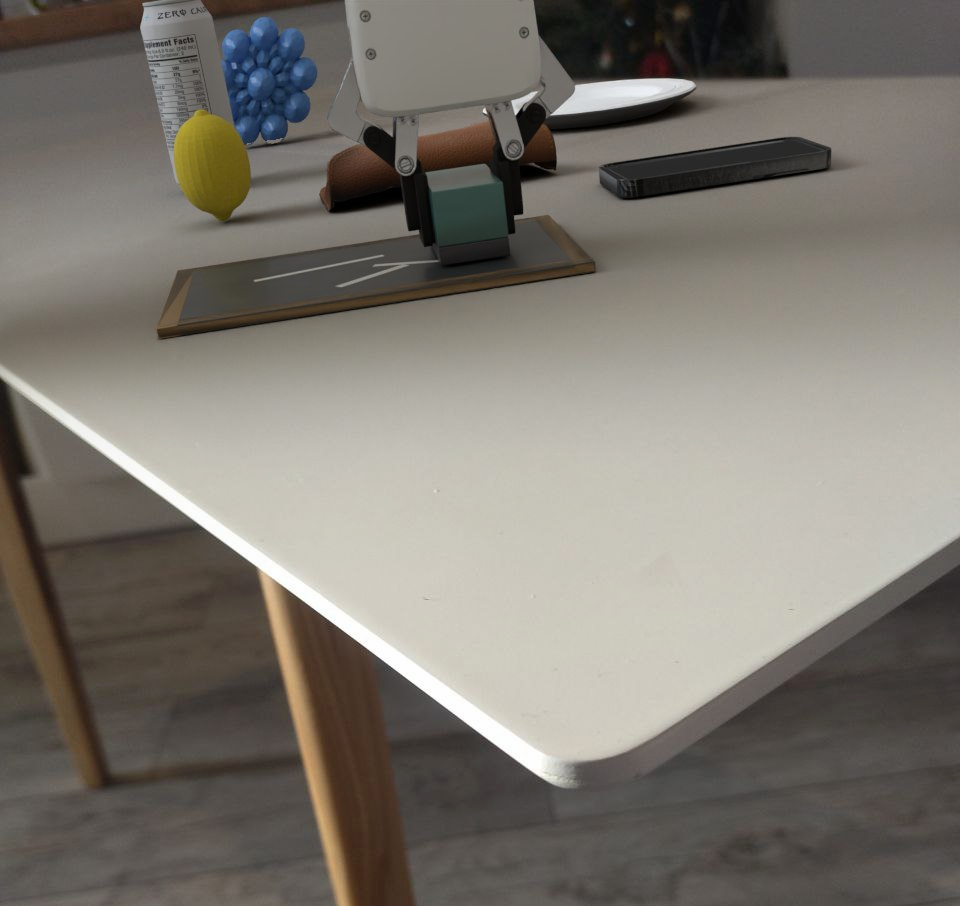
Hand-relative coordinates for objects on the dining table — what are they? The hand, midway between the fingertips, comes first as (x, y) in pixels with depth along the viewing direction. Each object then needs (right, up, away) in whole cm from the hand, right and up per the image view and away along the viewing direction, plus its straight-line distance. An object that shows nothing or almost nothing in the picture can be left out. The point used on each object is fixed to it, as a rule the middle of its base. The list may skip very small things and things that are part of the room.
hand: (466, 232), depth 72 cm
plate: (+12, +27, +48) cm, 57 cm away
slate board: (-6, -2, +1) cm, 6 cm away
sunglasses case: (-3, +11, +24) cm, 27 cm away
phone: (+17, +9, +14) cm, 24 cm away
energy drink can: (-23, +16, +37) cm, 46 cm away
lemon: (-19, +8, +22) cm, 30 cm away
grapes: (-21, +29, +59) cm, 69 cm away
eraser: (0, -1, 0) cm, 1 cm away
